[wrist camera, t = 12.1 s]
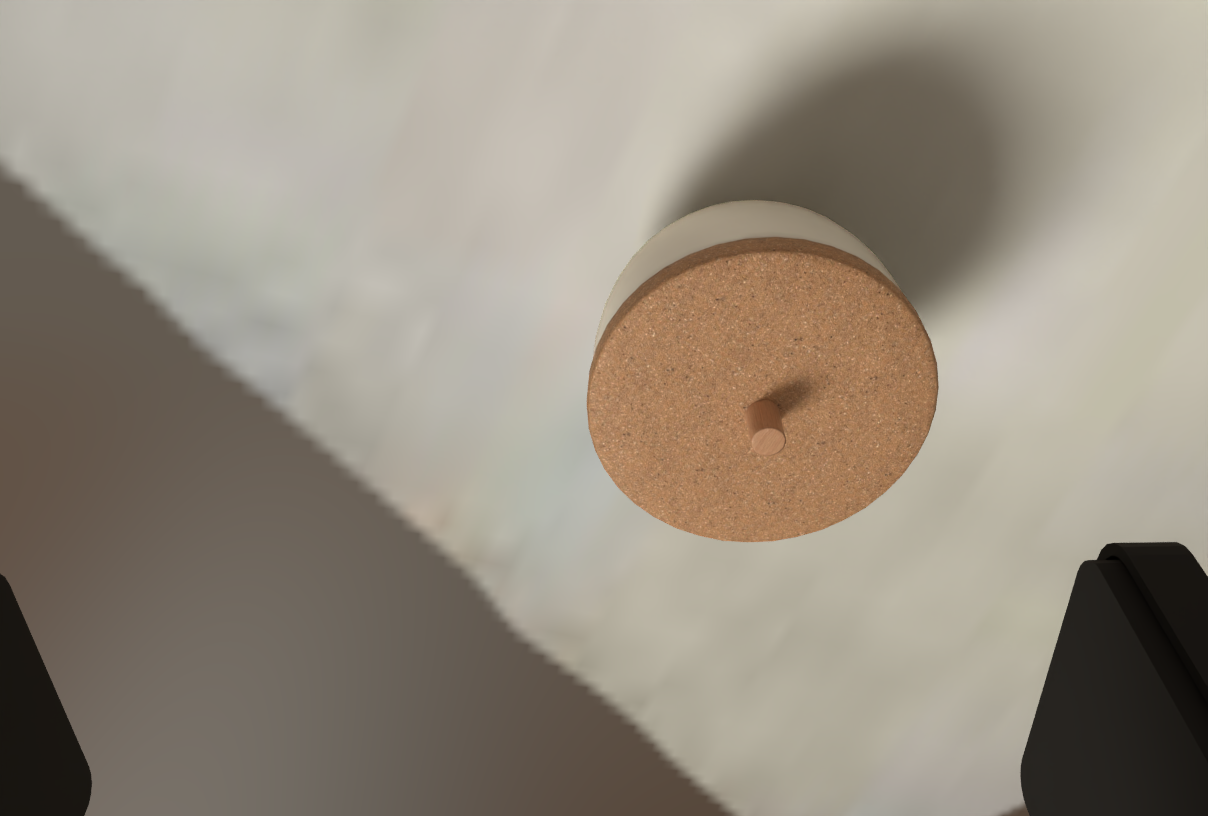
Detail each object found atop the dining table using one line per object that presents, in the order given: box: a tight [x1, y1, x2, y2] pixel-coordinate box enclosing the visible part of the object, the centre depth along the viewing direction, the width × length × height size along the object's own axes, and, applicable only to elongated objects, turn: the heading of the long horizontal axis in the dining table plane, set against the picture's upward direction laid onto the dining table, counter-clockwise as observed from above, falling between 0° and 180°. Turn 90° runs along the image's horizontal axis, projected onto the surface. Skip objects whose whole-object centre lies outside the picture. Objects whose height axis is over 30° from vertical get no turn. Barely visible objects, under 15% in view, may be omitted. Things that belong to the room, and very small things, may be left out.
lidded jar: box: [587, 200, 938, 542], centre depth 35 cm, size 11×11×9 cm
